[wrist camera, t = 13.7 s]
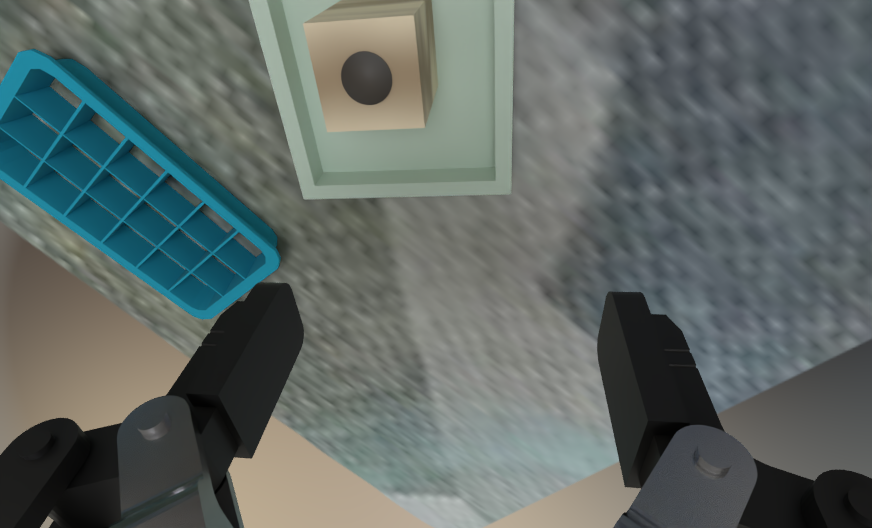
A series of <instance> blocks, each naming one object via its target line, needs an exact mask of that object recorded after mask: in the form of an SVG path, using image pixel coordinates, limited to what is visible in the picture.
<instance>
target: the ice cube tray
mask: <svg viewBox="0 0 872 528" xmlns="http://www.w3.org/2000/svg"><path fill="white" fill-rule="evenodd" d="M54 78H56V79H57V80H58V81H60V82H61V83H62V84H63V85H64V86H66V87H67V88H68V89H69V90H70V91H72V92H73V93H74V94H75V95H76V96H78V97H79V98H80V99H81V100H82V102H81V104H80V105H79V107H78V108H77V109H76V108H75V107H74V106H72V105H71V104H70V103H69V102H68V101H66V100H65V99H64V98H63V97H61V96H60V95H59V94H58V93H57V92H55V91H54V90H53V89H52V88H51V87H49V86H50V85H51V83H52V82H53V80H54ZM33 112H34V113H35V114H36V115H37V116H39V117H40V118H41V119H43V120H44V121H45V122H46V123H48V124H49V125H50V126H51V127H53V128H54V129H55V130H56V131H58V132H59V133H60V134H59V135H57V134H56V133H55V132H54V131H52V130H51V129H50V128H49V127H47V126H46V125H45V124H44V123H42V122H41V121H40V120H38V119H37V118H36V117H35V116H33V115H32V113H33ZM96 112H97V113H98V114H99V115H100V116H101V117H103V118H104V119H105V120H106V121H107V122H109V123H110V124H111V125H112V126H113V127H115V128H116V129H117V130H118V131H119V132H120V133H122V134H123V135H124V136H125V139H124V140H123V141H122V142H121V144H118V143H117V142H116V141H115V140H113V139H112V138H111V137H110V136H109V135H107V134H106V133H105V132H104V131H103V130H101V129H100V128H99V127H98V126H97V125H95V124H94V123H93V122H92V121H91V118H92V117H93V116H94V114H95V113H96ZM72 144H74V145H75V146H77V147H78V148H79V149H80V150H82V151H83V152H84V153H85V154H87V155H88V156H89V157H91V158H92V159H93V160H94V161H96V162H97V163H98V164H99V165H101V166H102V167H101V168H99V167H98V166H97V165H95V164H94V163H93V162H92V161H90V160H89V159H88V158H87V157H85V156H84V155H83V154H82V153H80V152H79V151H78V150H76V149H75V148H74V147H73V146H72ZM134 145H136V146H137V147H138V148H140V149H141V150H142V151H143V152H144V153H146V154H147V155H148V156H149V157H150V158H152V159H153V160H154V161H155V162H156V163H157V164H159V165H160V166H161V167H162V168H163V169H165V170H166V171H165V172H164V173H163V174H162V175H161V176H160V177H158V176H157V175H156V174H155V173H153V172H152V171H151V170H150V169H149V168H147V167H146V166H145V165H144V164H143V163H141V162H140V161H139V160H138V159H136V158H135V157H134V156H133V155H132V154H130V153H129V151H130V150H131V148H132V147H133V146H134ZM27 149H28V150H29V151H30V152H32V153H33V154H34V155H36V156H37V157H38V158H40V159H41V161H40V160H38V159H37V158H36V157H34V156H33V155H32V154H30V153H29V151H28V150H27ZM54 170H56V171H57V172H58V173H59V174H61V175H62V176H63V177H65V178H66V179H67V180H69V181H70V182H71V183H73V184H74V185H75V186H77V187H78V188H79V189H81V190H82V192H81V191H80V190H78V189H77V188H76V187H74V186H73V185H72V184H70V183H69V182H68V181H66V180H65V179H64V178H62V177H61V176H60V175H58V174H57V173H56V172H54ZM110 174H112V175H113V176H115V177H116V178H117V179H118V180H120V181H121V182H122V183H123V184H125V185H126V186H127V187H128V188H130V189H131V190H132V191H133V192H135V193H136V194H137V195H139V196H140V197H141V198H140V199H139V198H137V197H136V196H135V195H134V194H132V193H131V192H130V191H128V190H127V189H126V188H125V187H123V186H122V185H121V184H120V183H118V182H117V181H116V180H115V179H113V178H112V177H111V176H109V175H110ZM170 175H172V176H173V177H174V178H175V179H177V180H178V181H179V182H180V183H181V184H183V185H184V186H185V187H186V188H187V189H189V190H190V191H191V192H192V193H193V194H194V195H196V196H197V197H198V198H199V199H200V200H202V202H201V203H200V204H199V205H198V206H197V207H195V206H193V205H192V204H191V203H190V202H189V201H187V200H186V199H185V198H184V197H182V196H181V195H180V194H179V193H178V192H176V191H175V190H174V189H173V188H172V187H170V186H169V185H168V184H167V183H166V182H164V181H165V180H166V179H167V178H168V177H169V176H170ZM0 179H1V180H3V181H4V182H5V183H7V184H8V185H10V186H11V187H12V188H14V189H15V190H17V191H18V192H19V193H21V194H22V195H24V196H25V197H26V198H28V199H29V200H31V201H32V202H33V203H35V204H36V205H38V206H39V207H40V208H42V209H43V210H45V211H46V212H47V213H49V214H50V215H52V216H53V217H54V218H56V219H57V220H59V221H60V222H62V223H63V224H64V225H66V226H67V227H69V228H70V229H71V230H73V231H74V232H76V233H77V234H78V235H80V236H81V237H83V238H84V239H85V240H87V241H88V242H90V243H91V244H92V245H94V246H95V247H97V248H98V249H99V250H101V251H102V252H104V253H105V254H106V255H108V256H109V257H111V258H112V259H113V260H115V261H116V262H118V263H119V264H120V265H122V266H123V267H125V268H126V269H127V270H129V271H130V272H132V273H133V274H134V275H136V276H137V277H139V278H140V279H141V280H143V281H144V282H146V283H147V284H148V285H150V286H151V287H153V288H154V289H156V290H157V291H158V292H160V293H161V294H163V295H164V296H165V297H167V298H168V299H170V300H171V301H172V302H174V303H175V304H177V305H178V306H179V307H181V308H182V309H184V310H185V311H186V312H188V313H189V314H191V315H192V316H194V317H197V318H200V319H212V318H213V317H214V316H216V315H217V314H218V313H220V312H221V311H222V310H224V309H225V308H226V307H228V306H229V305H230V304H232V303H233V302H234V301H236V300H237V299H238V298H239V297H241V296H242V295H243V294H245V293H246V292H247V291H249V290H250V289H251V288H253V287H254V286H255V285H256V284H257V283H259V282H261V281H262V280H263V279H265V278H266V277H267V276H269V275H270V274H271V273H273V272H274V271H275V270H276V269H278V267H279V265H280V260H281V257H280V255H279V253H278V250H277V249H276V246H277V236H276V235H275V233H274V231H273V230H272V229H271V228H270V227H269V226H268V225H266V224H265V223H264V222H263V221H262V220H261V219H260V218H258V217H257V216H256V215H255V214H254V213H253V212H252V211H250V210H249V209H248V208H247V207H246V206H245V205H244V204H242V203H241V202H240V201H239V200H238V199H237V198H236V197H234V196H233V195H232V194H231V193H230V192H229V191H227V190H226V189H225V188H224V187H223V186H222V185H221V184H219V183H218V182H217V181H216V180H215V179H214V178H213V177H211V176H210V175H209V174H208V173H207V172H206V171H205V170H203V169H202V168H201V167H200V166H199V165H198V164H197V163H195V162H194V161H193V160H192V159H191V158H190V157H188V156H187V155H186V154H185V153H184V152H183V151H182V150H180V149H179V148H178V147H177V146H176V145H175V144H174V143H172V142H171V141H170V140H169V139H168V138H167V137H166V136H164V135H163V134H162V133H161V132H160V131H159V130H158V129H156V128H155V127H154V126H153V125H152V124H151V123H149V122H148V121H147V120H146V119H145V118H144V117H143V116H141V115H140V114H139V113H138V112H137V111H136V110H135V109H133V108H132V107H131V106H130V105H129V104H128V103H127V102H125V101H124V100H123V99H122V98H121V97H120V96H119V95H117V94H116V93H115V92H114V91H113V90H112V89H110V88H109V87H108V86H107V85H106V84H105V83H104V82H102V81H101V80H100V79H99V78H98V77H97V76H96V75H94V74H93V73H92V72H91V71H90V70H89V69H88V68H86V67H85V66H83V65H81V64H80V63H78V62H76V61H75V60H73V59H58V60H55V59H53V58H52V57H51V56H49V55H47V54H45V53H42V52H40V51H38V50H36V49H31V50H25V51H21V52H18V54H17V56H16V58H15V59H14V61H13V63H12V65H11V67H10V68H9V70H8V72H7V74H6V75H5V77H4V79H3V81H2V83H1V84H0ZM90 198H93V199H94V200H95V201H97V202H98V203H99V204H101V205H102V206H103V207H104V208H106V209H107V210H108V211H110V212H111V213H112V214H114V215H115V216H116V217H118V218H119V219H120V221H119V220H118V219H117V218H115V217H114V216H113V215H111V214H110V213H109V212H107V211H106V210H105V209H103V208H102V207H101V206H99V205H98V204H97V203H95V202H94V201H93V200H91V199H90ZM145 202H147V203H149V204H150V205H151V206H152V207H154V208H155V209H156V210H157V211H159V212H160V213H161V214H163V215H164V216H165V217H166V218H168V219H169V220H170V221H171V222H173V223H174V224H175V225H176V227H174V226H173V225H172V224H170V223H169V222H168V221H166V220H165V219H164V218H163V217H161V216H160V215H159V214H158V213H156V212H155V211H154V210H153V209H151V208H150V207H149V206H147V205H146V204H145ZM204 204H206V205H208V206H209V207H210V208H211V209H212V210H214V211H215V212H216V213H217V214H218V215H220V216H221V217H222V218H223V219H224V220H226V221H227V222H228V223H229V224H230V225H231V226H233V227H234V228H233V229H232V230H231V231H229V232H228V233H226V232H225V231H224V230H222V229H221V228H220V227H219V226H218V225H216V224H215V223H214V222H213V221H212V220H210V219H209V218H208V217H207V216H205V215H204V214H203V213H202V212H201V211H199V210H198V209H199V208H200V207H201V206H203V205H204ZM125 223H126V224H127V225H128V226H130V227H131V228H132V229H134V230H135V231H136V232H138V233H139V234H140V235H142V236H143V237H144V238H146V239H147V240H148V241H150V242H151V243H152V244H153V245H155V246H156V247H154V246H152V245H151V244H150V243H148V242H147V241H146V240H145V239H143V238H142V237H141V236H139V235H138V234H137V233H135V232H134V231H133V230H131V229H130V228H129V227H127V226H126V225H125ZM179 228H180V229H181V230H183V231H184V232H185V233H187V234H188V235H189V236H190V237H192V238H193V239H194V240H195V241H197V242H198V243H199V244H200V245H202V246H203V247H204V248H205V249H207V250H208V251H207V252H206V251H204V250H203V249H202V248H201V247H199V246H198V245H197V244H196V243H194V242H193V241H192V240H191V239H189V238H188V237H187V236H185V235H184V234H183V233H182V232H180V231H179V230H178V229H179ZM238 232H240V233H241V234H242V235H243V236H245V237H246V238H247V239H248V240H249V241H251V242H252V243H253V244H254V245H255V246H257V247H258V248H259V249H260V250H261V251H262V253H261V254H260V255H259V256H258V257H255V256H254V255H253V254H251V253H250V252H249V251H248V250H247V249H245V248H244V247H243V246H242V245H241V244H239V243H238V242H237V241H236V240H235V239H233V237H234V236H235V235H236V234H237V233H238ZM158 248H159V249H160V250H161V251H163V252H164V253H165V254H167V255H168V256H169V257H171V258H172V259H173V260H175V261H176V262H177V263H179V264H180V265H181V266H183V267H184V268H185V269H186V270H184V269H183V268H182V267H180V266H179V265H178V264H176V263H175V262H174V261H172V260H171V259H170V258H168V257H167V256H166V255H164V254H163V253H162V252H160V251H159V250H158ZM212 255H214V256H216V257H217V258H218V259H219V260H221V261H222V262H223V263H224V264H226V265H227V266H228V267H229V268H231V269H232V270H233V271H235V272H236V274H234V273H232V272H231V271H230V270H229V269H227V268H226V267H225V266H223V265H222V264H221V263H220V262H218V261H217V260H216V259H215V258H213V257H212ZM191 273H192V274H193V275H195V276H196V277H197V278H198V279H200V280H201V281H202V282H204V283H205V284H206V285H208V286H206V285H204V284H203V283H202V282H200V281H199V280H198V279H196V278H195V277H194V276H192V275H191Z"/></svg>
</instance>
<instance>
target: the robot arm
mask: <svg viewBox="0 0 872 528" xmlns="http://www.w3.org/2000/svg"><path fill="white" fill-rule="evenodd" d="M210 331H211V332H210V334H209V333H208V335H207V336H206V337H205V339H204V340H203V342H202V346H199V348H198V349H197V351H196V352H195V354H194V355H193V357H192V358H191V360H190V361H189V363H188V364H187V366H186V367H185V369H184V370H183V371H182V373H181V375H180V376H179V377H178V379H177V381H176V382H175V383H174V385H173V386H172V388H171V389H170V391H169V392H168V394H167V395H166V396H162V397H158V398H154V399H152V400H149V401H147V402H145V403H144V404H142V405H140V406H139V407H138V408H136V409H135V410H133V411H132V412H131V413H130V414H129V415H128V416H127V417H126V419H125V420H124V421H123V423H120V424H115V425H111V426H107V427H102V428H98V429H93V430H89V431H85V432H83V431H82V430H81V429H80V427H79V426H78V425H77V424H76V423H75V422H74V421H73V420H71V419H68V418H56V419H51V420H48V421H44V422H42V423H40V424H37V425H35V426H34V427H32V428H30V429H28V430H27V431H25V432H23V433H22V434H21V435H20V436H18V437H17V438H16V439H15V440H14V441H12V443H11V444H10V445H9V446H8V447H7V448H6V449H5V450H4V451H3V453H2V454H1V455H0V528H40V527H41V525H42V524H43V522H44V521H45V519H46V518H47V516H49V517H50V518H51V519H53V520H54V521H53V522H52V524H51V525H50V527H49V528H244V525H243V522H242V518H241V514H240V511H239V506H238V503H237V498H236V495H235V491H234V487H233V483H232V479H231V476H230V473H229V471H228V468H229V466H230V464H231V462H232V460H233V458H234V457H238V458H252V457H253V455H254V453H255V450H256V448H257V446H258V444H259V441H260V439H261V437H262V435H263V432H264V430H265V428H266V426H267V424H268V421H269V419H270V417H271V415H272V412H273V410H274V408H275V406H276V403H277V401H278V399H279V397H280V394H281V392H282V390H283V388H284V386H285V383H286V381H287V379H288V377H289V374H290V372H291V370H292V368H293V365H294V363H295V361H296V359H297V356H298V354H299V352H300V350H301V347H302V344H303V338H304V329H303V324H302V321H301V317H300V314H299V311H298V308H297V305H296V302H295V299H294V295H293V292H292V289H291V287H290V285H289V284H287V283H264V282H259V283H257V284H256V285H255V286H254V287H253V289H252V290H251V292H250V293H249V295H248V296H247V298H246V299H245V301H237V302H236V303H235V304H234V305H232V306H231V307H230V308H229V309H227V310H226V311H225V312H224V313H222V314H221V315H220V317H219V318H218V320H217V321H216V323H215V324H214V326H213V327H212V329H211V330H210ZM689 350H690V349H689V347H688V345H687V342H686V340H685V337H684V335H683V333H682V331H681V330H680V329H679V328H678V327H677V326H676V325H675V324H674V323H673V322H672V321H671V320H670V319H669V318H668V317H667V316H666V315H657V314H651V313H650V310H649V308H648V305H647V302H646V299H645V297H644V295H643V293H641V292H608V294H607V296H606V300H605V305H604V310H603V315H602V320H601V325H600V330H599V334H598V343H597V352H598V361H599V366H600V371H601V376H602V381H603V385H604V390H605V395H606V399H607V404H608V409H609V414H610V418H611V423H612V428H613V433H614V437H615V442H616V447H617V452H618V456H619V461H620V466H621V470H622V475H623V480H624V485H625V487H633V488H641V490H640V492H639V494H638V495H637V497H636V499H635V500H634V502H633V503H632V505H631V507H630V508H629V510H628V511H627V512H626V513H623V514H622V516H621V517H620V518H619V520H618V521H617V523H616V524H615V526H614V528H872V479H871V478H869V477H867V476H864V475H862V474H858V473H856V472H852V471H846V470H829V471H826V472H824V473H822V474H821V475H819V476H818V478H817V479H816V480H815V481H813V480H810V479H807V478H804V477H801V476H798V475H795V474H792V473H789V472H786V471H783V470H780V469H777V468H774V467H771V466H769V465H766V464H764V463H762V462H760V461H758V460H756V459H754V458H752V456H751V455H750V453H749V452H748V450H747V449H746V448H745V447H744V446H743V445H742V444H741V443H740V442H739V441H737V440H736V439H735V438H734V437H732V436H731V435H729V434H728V433H726V432H725V431H724V429H723V427H722V425H721V423H720V421H719V418H718V416H717V414H716V411H715V409H714V406H713V404H712V402H711V399H710V397H709V395H708V392H707V390H706V387H705V385H704V383H703V380H702V378H701V375H700V373H699V371H698V369H697V368H696V364H695V361H694V359H693V356H692V354H691V353H690V352H689Z"/></svg>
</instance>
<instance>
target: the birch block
mask: <svg viewBox="0 0 872 528" xmlns="http://www.w3.org/2000/svg"><path fill="white" fill-rule="evenodd" d="M303 27H304V31H305V35H306V40H307V44H308V49H309V53H310V58H311V62H312V67H313V71H314V75H315V80H316V84H317V89H318V93H319V98H320V102H321V107H322V111H323V115H324V120H325V124H326V129H327V132H345V131H367V130H390V129H412V128H425V126H426V123H427V120H428V117H429V113H430V110H431V107H432V104H433V101H434V97H435V94H436V91H437V88H438V76H437V63H436V50H435V37H434V24H433V11H432V0H341V1H339V2H337V3H336V4H334V5H333V6H331V7H329V8H328V9H326V10H324V11H323V12H321V13H319V14H318V15H316V16H314V17H313V18H311V19H309V20H308V21H306V22H305V23H303Z"/></svg>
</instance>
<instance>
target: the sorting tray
mask: <svg viewBox="0 0 872 528" xmlns="http://www.w3.org/2000/svg"><path fill="white" fill-rule="evenodd" d="M339 1H341V0H249V3H250V7H251V10H252V14H253V18H254V21H255V25H256V28H257V32H258V36H259V39H260V43H261V46H262V50H263V54H264V57H265V61H266V65H267V68H268V72H269V75H270V79H271V83H272V86H273V90H274V93H275V97H276V101H277V104H278V108H279V111H280V115H281V119H282V122H283V126H284V129H285V133H286V137H287V140H288V144H289V147H290V151H291V155H292V158H293V162H294V165H295V169H296V173H297V176H298V180H299V183H300V187H301V191H302V194H303V198H304V199H341V198H383V197H424V196H465V195H506V194H511V178H512V112H513V46H514V0H432V11H433V24H434V37H435V50H436V63H437V76H438V88H437V91H436V94H435V97H434V101H433V104H432V107H431V110H430V113H429V117H428V120H427V123H426V126H425V128H412V129H390V130H367V131H345V132H327V129H326V124H325V120H324V115H323V111H322V107H321V102H320V98H319V93H318V89H317V84H316V80H315V75H314V71H313V67H312V62H311V58H310V53H309V49H308V44H307V40H306V35H305V31H304V27H303V23H305V22H306V21H308V20H309V19H311V18H313V17H314V16H316V15H318V14H319V13H321V12H323V11H324V10H326V9H328V8H329V7H331V6H333V5H334V4H336V3H337V2H339Z"/></svg>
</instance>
